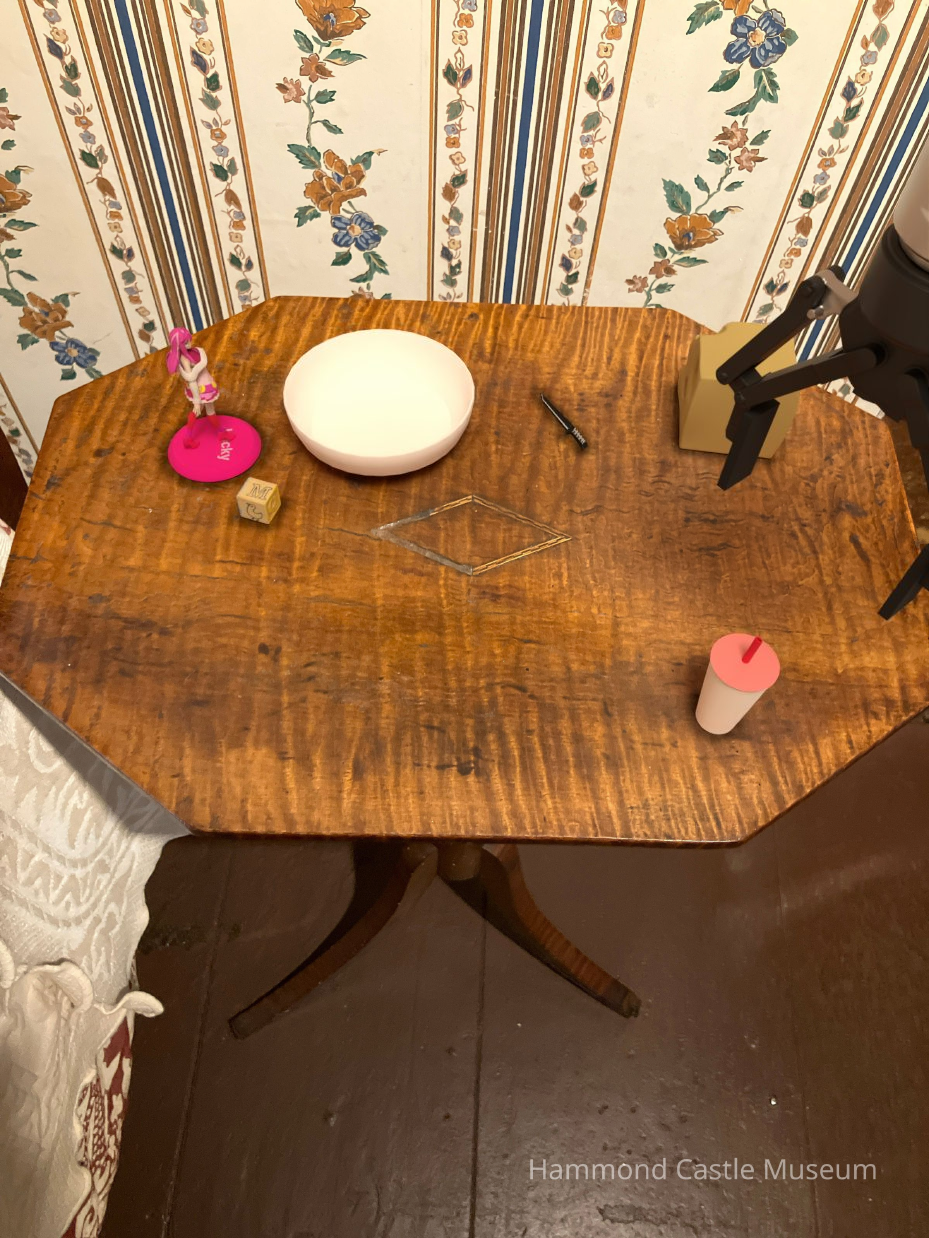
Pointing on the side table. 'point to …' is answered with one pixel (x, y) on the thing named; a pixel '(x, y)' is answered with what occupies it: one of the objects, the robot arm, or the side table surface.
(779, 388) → the robot arm
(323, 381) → the bowl
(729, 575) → the side table surface
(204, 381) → the figurine
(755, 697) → the cup
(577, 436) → the knife
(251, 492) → the alphabet block
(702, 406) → the cheese
